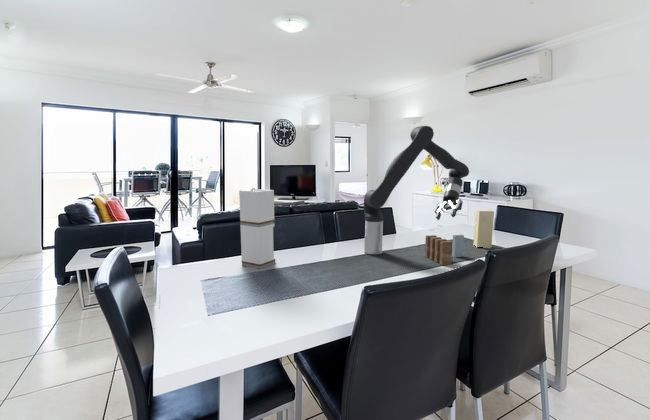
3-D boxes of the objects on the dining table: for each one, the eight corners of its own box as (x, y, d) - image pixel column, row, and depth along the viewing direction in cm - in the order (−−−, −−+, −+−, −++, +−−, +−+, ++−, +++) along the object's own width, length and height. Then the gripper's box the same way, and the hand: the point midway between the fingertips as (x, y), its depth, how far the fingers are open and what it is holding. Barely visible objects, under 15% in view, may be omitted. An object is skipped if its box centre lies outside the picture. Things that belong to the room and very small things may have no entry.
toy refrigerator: (486, 245, 198) (489, 209, 195) (491, 248, 191) (494, 211, 188) (472, 245, 199) (474, 209, 196) (477, 248, 191) (479, 211, 189)
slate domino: (451, 256, 175) (453, 235, 173) (460, 255, 176) (461, 234, 174) (454, 257, 173) (455, 236, 171) (462, 256, 174) (464, 235, 173)
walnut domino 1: (424, 256, 174) (425, 235, 172) (433, 256, 175) (434, 235, 174) (426, 257, 172) (427, 236, 170) (435, 257, 173) (436, 235, 172)
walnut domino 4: (439, 264, 161) (440, 241, 159) (448, 263, 162) (450, 240, 161) (441, 265, 159) (443, 242, 158) (451, 264, 160) (452, 241, 159)
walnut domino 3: (434, 261, 165) (435, 239, 164) (443, 260, 166) (444, 238, 165) (436, 262, 163) (437, 240, 162) (445, 262, 165) (446, 239, 163)
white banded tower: (275, 263, 163) (273, 190, 158) (260, 268, 154) (258, 191, 149) (257, 259, 169) (255, 189, 164) (241, 265, 160) (239, 190, 155)
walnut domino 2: (429, 259, 170) (430, 237, 168) (438, 258, 171) (439, 236, 169) (431, 260, 168) (432, 238, 166) (440, 259, 169) (441, 237, 167)
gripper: (436, 192, 185) (428, 215, 177) (460, 186, 174) (453, 210, 166) (444, 201, 188) (436, 224, 180) (468, 195, 177) (461, 220, 169)
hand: (444, 217), depth 173 cm, fingers open, 8 cm apart
